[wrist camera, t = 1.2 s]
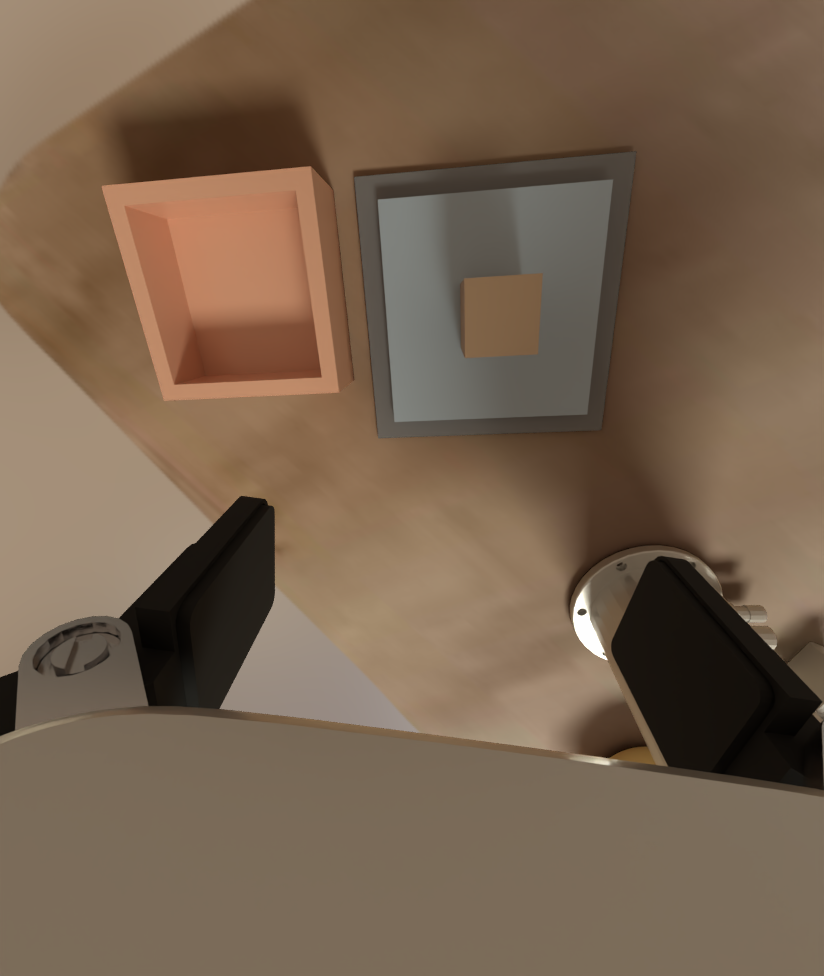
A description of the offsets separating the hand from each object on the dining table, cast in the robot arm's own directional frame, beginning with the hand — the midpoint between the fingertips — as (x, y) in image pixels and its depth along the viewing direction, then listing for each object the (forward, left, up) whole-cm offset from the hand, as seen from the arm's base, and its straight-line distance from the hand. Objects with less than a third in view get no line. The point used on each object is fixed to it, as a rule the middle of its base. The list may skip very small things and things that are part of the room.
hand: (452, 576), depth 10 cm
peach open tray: (+13, -8, -23) cm, 27 cm away
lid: (-3, -6, -23) cm, 24 cm away
